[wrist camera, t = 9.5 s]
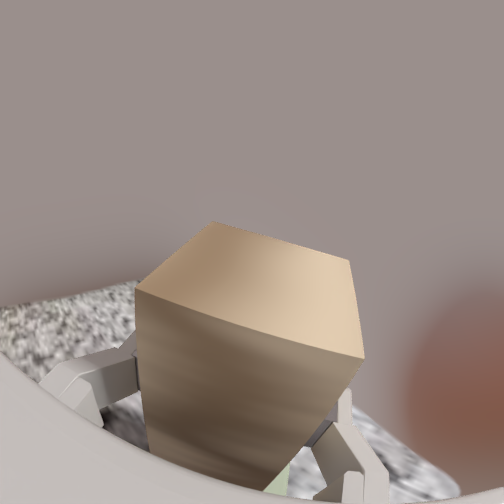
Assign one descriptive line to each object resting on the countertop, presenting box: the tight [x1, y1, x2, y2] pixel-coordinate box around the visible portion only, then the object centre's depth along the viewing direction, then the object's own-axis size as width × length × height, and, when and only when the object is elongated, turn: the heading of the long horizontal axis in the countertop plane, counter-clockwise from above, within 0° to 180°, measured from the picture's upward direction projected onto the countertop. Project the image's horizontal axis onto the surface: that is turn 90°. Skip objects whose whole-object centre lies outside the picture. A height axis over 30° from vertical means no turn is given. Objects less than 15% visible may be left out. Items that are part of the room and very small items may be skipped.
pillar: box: [135, 222, 365, 491], centre depth 9 cm, size 4×4×10 cm
